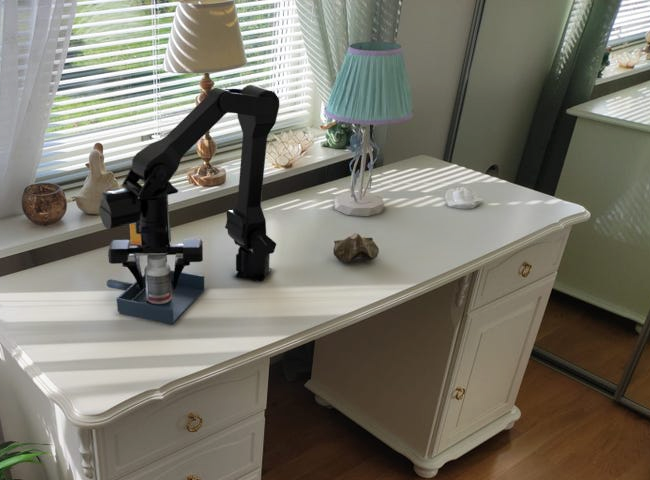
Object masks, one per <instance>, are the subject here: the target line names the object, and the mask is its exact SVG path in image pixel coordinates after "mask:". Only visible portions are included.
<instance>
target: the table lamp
mask: <svg viewBox="0 0 650 480" xmlns="http://www.w3.org/2000/svg"><path fill="white" fill-rule="evenodd" d="M403 48H404V47H403V46H402V45H401V44H399V43H395V42H387V41H386V42H385V41H364V42H363V41H361V42H356V43H352V44H350V45H349V46H348V48H347V52H346V54H345V56H344V59H343V63H342V65H341V67H340V70H339V71H338V74H337V76H336V78H335V81H334V84H333V87H332V89H331V92H330V94H329V98H328V100H327V105H326V106H325V108H324V114H325V116H326V117H327V118H329V119H331V120H333V121H338V122H342V123H347V124H356V125H360V126H359V127H358V132H355V133H353V134H352V135H351V136H350V140H349V141H350V142H349V143H350V145H349V152H350V153H354V157H353V159H351V161H350V163H349V170H350V172H351V177H350V186H349V187H350V191H347V192H343V193H339V194H338V195H336V196H335V198H334V210H336V211H338V212H340V213H343V214H345V215H347V216H356V217H357V216H358V217H370V216H374V215H377V214H378V215H379V214H380V213H381V212H382V211H383V210H384V206H385V203H384V199H383V197H382V196H380V195H378V194H376V193H373V192H367V190H370V189H371V187H372V182H373V179H372V177H373V172H374V171H373V170H374V164H375V163H376V162H377V160H378V158H379V154H380V148H379V146H377V143H376V142H373V141H372V138H371V137H370V135H371V134H370V133H371V132H370V130H371V129H370V127H371V126H372V125H373V129H375V128H376V125H377V126H378V125H390V124H391V125H393V124H397V123H398V124H399V123H403V122H406V121H408V120H411V119H412V118H413V117H414V113H415V112H414V109H413V103H412V91H411V88H410V83H409V77H408V74H407V69H406V67H405V59H404V53H403V51H404V50H403ZM362 129H363V132H362V133H361V131H362ZM372 147H373V148H374V149H377V154H376V156H375V159H374V154H373V151H372ZM367 153H368V154H369V158H370V161H369V162H368V163H366V162H367ZM360 157H361V162H360V169H357V171H356V168H357V165H358V163H359V159H360ZM354 161H355V162H354ZM353 163H354V164H353ZM352 164H353V167H352V166H351V165H352ZM366 164H367V168H368V173H369V174H368V178H367V179H368V180H367V183H366V185H365V187H364V180H365V174H366V173H365V172H366ZM358 178H359V180H358V188H357V189H358V190H357V191H355V189H356V184H357V179H358Z"/></svg>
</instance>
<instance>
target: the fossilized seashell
mask: <svg viewBox="0 0 650 480" xmlns="http://www.w3.org/2000/svg"><path fill="white" fill-rule="evenodd" d="M332 250H333V251H332V252H333V256H334V257H335V258H336V259H337V260H338V261H339V262H342V263H348V262H352V261H355V259H357V258H358V259H359V258H360V259H362V260H365V261H373V260H375V259H376V258H377V257H378V255H379V254H380V253H379V251H380V249H379V247H378V245H377V244H376V243H375V241H374V238H373V237H362V236H361V234H359V233H358V232H352V233H351V234H350V235H348V236H347V237H346V238H344V239H338V240H334V246H333V249H332Z"/></svg>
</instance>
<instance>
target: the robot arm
mask: <svg viewBox="0 0 650 480" xmlns="http://www.w3.org/2000/svg"><path fill="white" fill-rule="evenodd" d="M279 111H280V98H279V96H278V95H277V94H276V92H274V91H272V90H271V89H267V88H264V87H261V86H258V85H255V84H248V85H245V87H243V88H236V87H235V88H234V87H233V88H231V87H230V88H229V87H228V88H221V87H213V88H211V89H210V90H209V91H208V93H207V95H206V96H205V97H204V99H203V100H201V101H200V102H199V103H198V104H197V105H196V106H195V107H194V108H193V109H192V110H191V111H190V112H189V113H188V114H187V115H186V116H185V117H183V119H182V120H180V122H179V123H178V124H177V125H176V126H175V127H173V129H172V130H170V132H168V133H167V135H165V136H164V137H162V138H161V139H158V140H156V141H154V142H151V143H149V144H148V145H146V146H145V147H143V148H142V149H141V150H139V151H138V152H137V153H136V154H135V155H134V156H133V158H132V160H131V167H130V169H129V171H128V173H127V175H126V176H125V178H124V180H123V182H122V184H121V187H122V189H121V188H120V189H117V190H106V191H103V192H102V198H101V199H100V200H99V206H98V212H99V217H100V220H101V222H102V224H103V226H104V227H105V229H107V230H110V229H115V228H120V227H124V226H128V225H130V224H133V223H136V234H141V245H131V239H112V241H111V242H110V243H109V247H108V251H107V252H108V253H107V256H108V263H109V264H111V265H112V264H117V265H119V264H120V265H121V266H122V268H127V269H128V271H129V272H130V273H131V274H132V276H133V278H134V279H135V282H136V281H137V283H138V285H139V287H140V288H141V290H142V291H143V290H144V289H143V278H142V275H143V274H142V273H143V271H142V267H141V263H140V256H148V255H167V256H175V259H174V269H173V271H174V277H173V289H175V288H176V285H177V282H178V279H179V277H180V274H181V272H183V271H184V269H185V267H189V266H190V265H191V263H201V262H202V261H203V260H204V250H203V249H204V247H203V243H204V242H203V240H202V239H201V238H183V239H182V243H179V244H171V242H172V234H171V233H172V232H171V227H170V212H169V196H170V195H174V194H177V193H179V189H178V188H176V187H175V186H174V185H173V184H172V183H171V182H170V180H171V179H172V178H173V176H174V175H175V174H176V172H177V171H178V170H179V166H180V164H181V160H183V157H184V156H185V155H186V154H188V152H189V151H190V150H191V149H192V148H193V147H194V146H195V145H196V144H197V143H198V142H199V141H200V140H201V139H202V138H203V137H204V136H205V135H206V134H207V133H208V132H209V131H210V130H211V129H213V128H214V126H215V125H217V123H218V122H219V121H221V120H222V118H223V117H225V116H226V114H237V120H238V123H239V126H240V129H241V132H242V141H241V153H240V155H241V156H240V166H239V167H240V168H239V178H238V179H239V180H238V194H237V203H236V204H235V206H234V208H233V209H232V210H231V209H228V210H226V223H225V226H224V228H225V229H226V230H227V235H228V236H229V237H230V238H231V239H232V240H233V242H234V244H235V245H237V246H238V249H237V253H236V254H235V271H236V273H235V274H234V278H237V279H243V280H249V281H253V282H259V283H262V282H264V281H265V280H266V279H267V277H268V276H269V275H270V274H271V272H272V269H273V268H272V267H270V259H271V258H270V256H271V254H273V253H274V252H275V250H276V247H277V243H276V242H275V241H274V240H273V239H272V238H271V237H269V236H268V235H267V220H266V216H265V214H264V211H263V208H262V197H263V196H262V195H263V187H264V186H263V185H264V175H265V166H266V165H265V164H266V155H267V142H268V137H269V135H270V133H271V131H272V129H273V128H274V126H275V124H276V122H277V118H278V114H279ZM139 181H141V182H143V185H142V184H140V183H139Z"/></svg>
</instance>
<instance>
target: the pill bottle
mask: <svg viewBox="0 0 650 480" xmlns="http://www.w3.org/2000/svg"><path fill="white" fill-rule="evenodd" d="M146 256H147V257H146V263H147V264H146V266H145V267H144V271H143V272H144V273H143V274H145V287H146V299H147V301H148V302H150V303H153V304H164V303H167V302H169V301H170V300H171V298H172V289H171V270H172V268H171V265H170V264H168V255H146Z"/></svg>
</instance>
